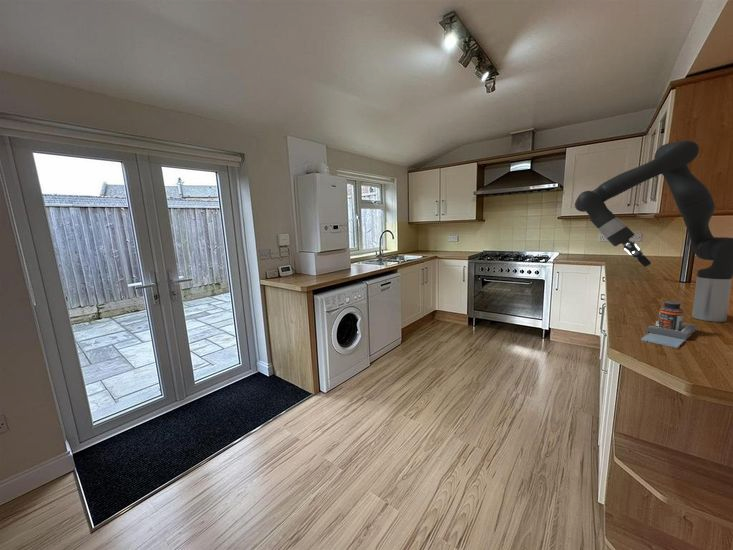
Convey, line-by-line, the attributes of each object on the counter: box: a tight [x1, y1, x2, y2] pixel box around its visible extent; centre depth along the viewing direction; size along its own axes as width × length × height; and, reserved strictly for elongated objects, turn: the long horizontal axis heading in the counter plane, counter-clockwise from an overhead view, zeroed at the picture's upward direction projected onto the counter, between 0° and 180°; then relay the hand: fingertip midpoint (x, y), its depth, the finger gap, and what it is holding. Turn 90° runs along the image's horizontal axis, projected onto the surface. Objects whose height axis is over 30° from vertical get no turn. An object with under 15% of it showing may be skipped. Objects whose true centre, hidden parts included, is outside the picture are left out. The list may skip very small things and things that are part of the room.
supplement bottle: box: [658, 300, 684, 331], centre depth 108 cm, size 6×6×11 cm
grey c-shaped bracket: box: [646, 319, 697, 341], centre depth 110 cm, size 19×10×3 cm, turn 123°
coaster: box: [640, 333, 686, 349], centre depth 101 cm, size 9×9×1 cm
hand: (647, 264), depth 112 cm, fingers open, 8 cm apart
